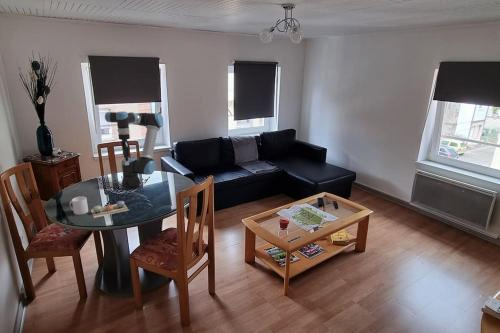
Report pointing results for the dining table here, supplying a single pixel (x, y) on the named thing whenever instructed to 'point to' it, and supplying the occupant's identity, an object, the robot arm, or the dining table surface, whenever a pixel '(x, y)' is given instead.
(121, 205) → the button slate
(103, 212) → the button board
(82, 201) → the mug
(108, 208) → the button terracotta
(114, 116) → the robot arm
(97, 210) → the button sage
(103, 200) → the dining table surface
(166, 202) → the dining table surface
